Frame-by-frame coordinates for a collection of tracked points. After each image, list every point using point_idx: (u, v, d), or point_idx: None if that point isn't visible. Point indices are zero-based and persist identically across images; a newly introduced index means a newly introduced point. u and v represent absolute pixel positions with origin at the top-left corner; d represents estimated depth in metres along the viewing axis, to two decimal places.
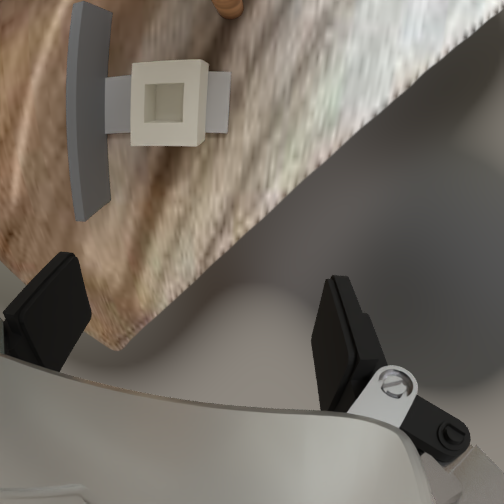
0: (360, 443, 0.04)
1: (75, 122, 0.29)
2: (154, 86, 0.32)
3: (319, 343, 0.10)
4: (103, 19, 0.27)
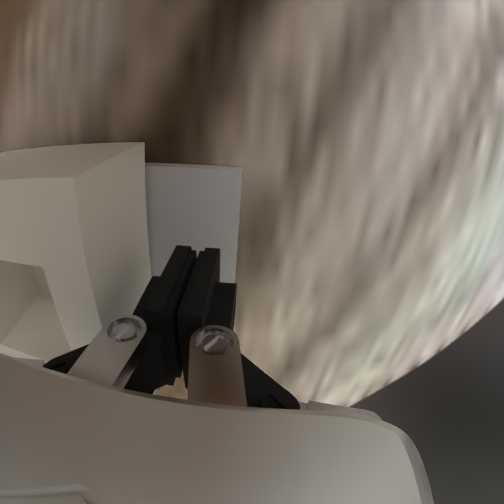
0: (360, 443, 0.04)
1: None
2: None
3: None
4: None
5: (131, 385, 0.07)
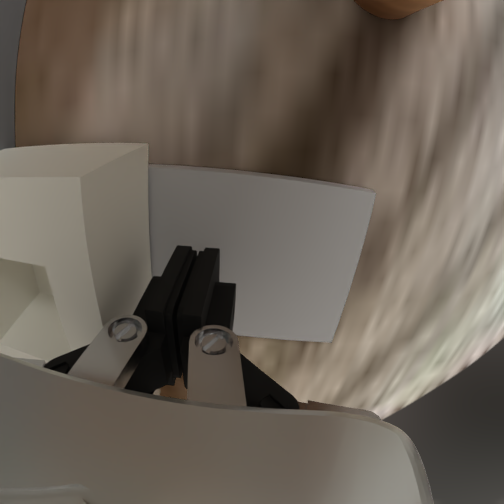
0: (360, 443, 0.04)
1: None
2: None
3: None
4: None
5: (131, 385, 0.07)
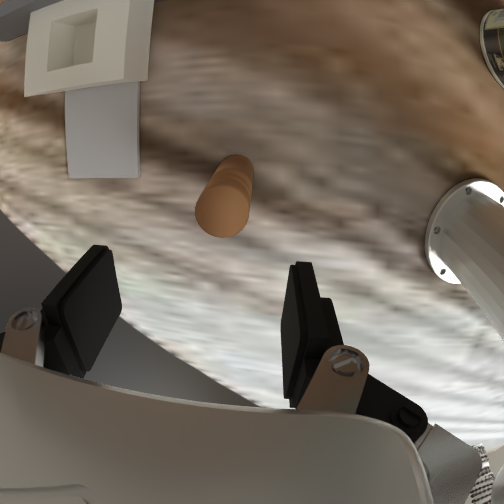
0: (360, 443, 0.04)
1: None
2: None
3: (284, 327, 0.11)
4: None
5: None
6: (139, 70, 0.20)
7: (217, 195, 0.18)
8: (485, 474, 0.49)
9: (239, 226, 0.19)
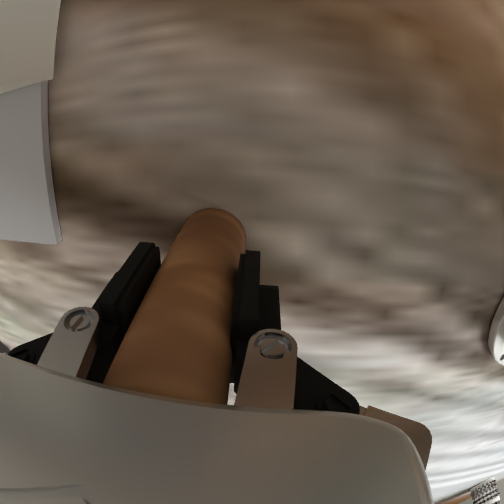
0: (360, 443, 0.04)
1: None
2: None
3: None
4: None
5: (93, 374, 0.07)
6: (28, 62, 0.08)
7: None
8: None
9: None
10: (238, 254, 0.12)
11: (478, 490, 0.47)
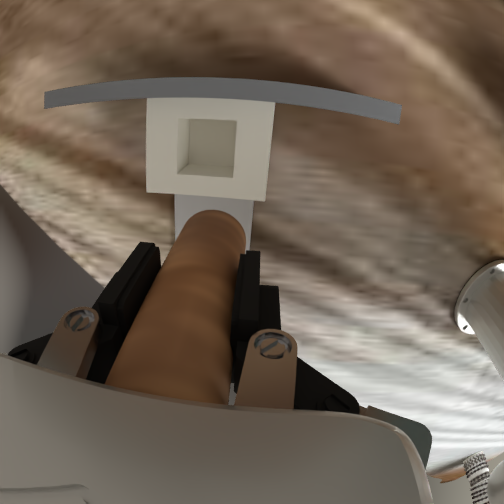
0: (360, 443, 0.04)
1: (182, 95, 0.19)
2: None
3: None
4: None
5: (93, 374, 0.07)
6: None
7: None
8: (485, 478, 0.55)
9: None
10: (238, 255, 0.12)
11: (469, 462, 0.64)
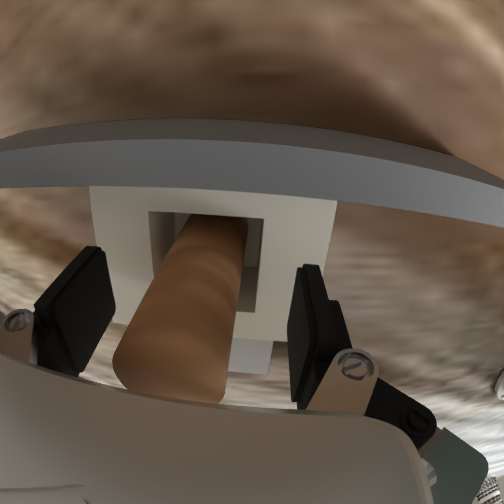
0: (360, 443, 0.04)
1: (147, 182, 0.09)
2: None
3: (291, 329, 0.11)
4: None
5: None
6: None
7: (151, 353, 0.07)
8: (496, 501, 0.46)
9: (207, 402, 0.08)
10: (240, 239, 0.14)
11: None
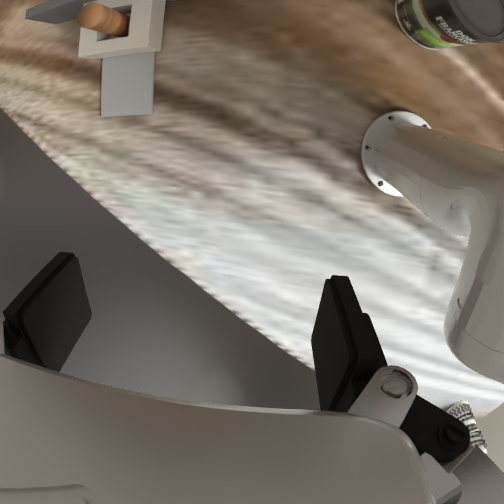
0: (360, 443, 0.04)
1: None
2: None
3: (319, 343, 0.10)
4: None
5: None
6: (156, 43, 0.31)
7: (87, 7, 0.21)
8: (471, 430, 0.60)
9: (96, 18, 0.22)
10: (128, 17, 0.28)
11: (452, 412, 0.69)
